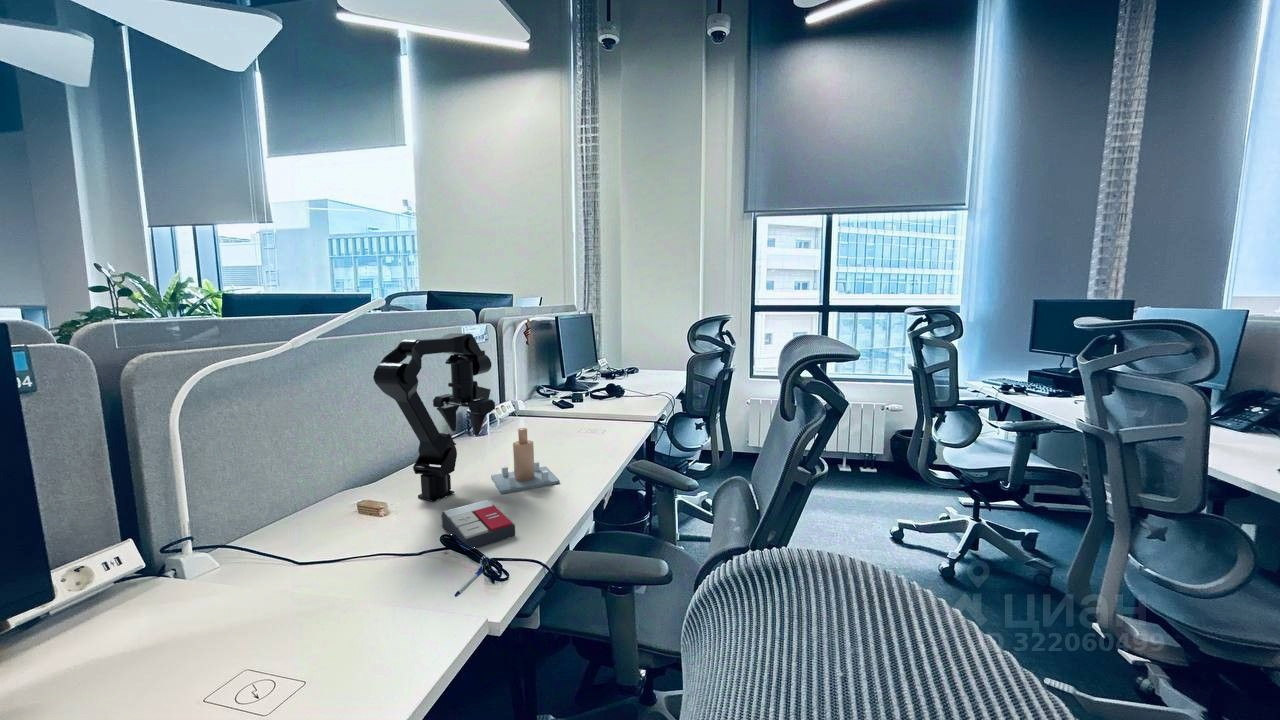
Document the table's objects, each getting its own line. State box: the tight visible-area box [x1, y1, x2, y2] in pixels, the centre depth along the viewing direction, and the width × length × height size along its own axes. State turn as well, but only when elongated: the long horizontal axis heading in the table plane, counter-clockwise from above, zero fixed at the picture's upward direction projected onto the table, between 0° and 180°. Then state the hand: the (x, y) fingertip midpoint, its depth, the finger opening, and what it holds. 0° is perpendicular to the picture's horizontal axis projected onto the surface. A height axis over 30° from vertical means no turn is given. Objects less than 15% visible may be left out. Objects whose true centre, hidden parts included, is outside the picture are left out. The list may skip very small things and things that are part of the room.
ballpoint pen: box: [454, 566, 483, 597], centre depth 90 cm, size 10×1×1 cm, turn 168°
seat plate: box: [490, 460, 561, 495], centre depth 139 cm, size 16×13×3 cm
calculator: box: [441, 499, 516, 549], centre depth 109 cm, size 11×4×15 cm
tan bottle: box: [512, 427, 535, 482], centre depth 138 cm, size 6×6×14 cm
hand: (465, 433), depth 140 cm, fingers open, 9 cm apart
